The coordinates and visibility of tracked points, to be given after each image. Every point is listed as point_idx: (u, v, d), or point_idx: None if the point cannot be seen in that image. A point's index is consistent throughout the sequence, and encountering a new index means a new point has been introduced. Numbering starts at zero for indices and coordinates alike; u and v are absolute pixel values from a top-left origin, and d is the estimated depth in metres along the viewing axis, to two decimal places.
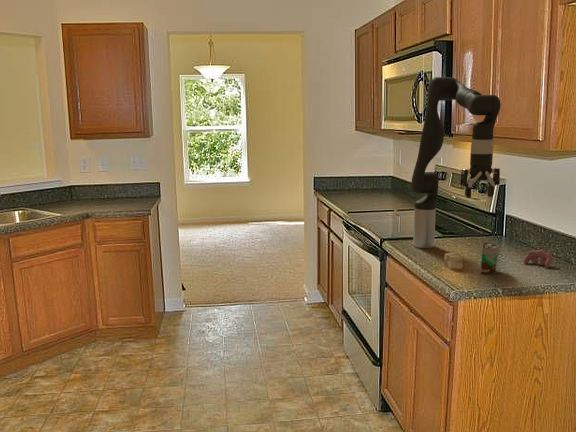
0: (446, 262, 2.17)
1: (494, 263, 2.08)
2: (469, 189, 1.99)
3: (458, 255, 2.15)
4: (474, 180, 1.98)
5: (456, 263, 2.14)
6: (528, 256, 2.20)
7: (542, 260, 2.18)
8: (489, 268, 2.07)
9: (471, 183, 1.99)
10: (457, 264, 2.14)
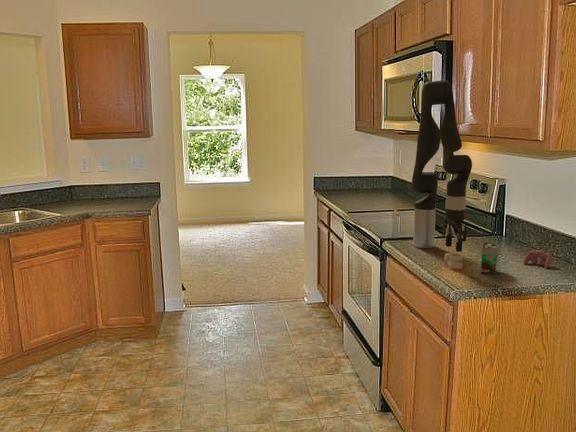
0: (446, 262, 2.17)
1: (494, 263, 2.08)
2: (461, 243, 2.10)
3: (458, 255, 2.15)
4: None
5: (456, 263, 2.14)
6: (528, 256, 2.20)
7: (542, 260, 2.18)
8: (489, 268, 2.07)
9: None
10: (457, 264, 2.14)
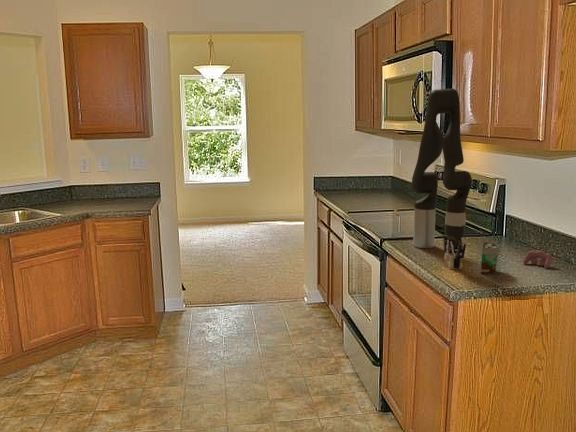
0: (446, 262, 2.17)
1: (494, 263, 2.08)
2: (459, 260, 2.13)
3: None
4: None
5: None
6: (527, 256, 2.20)
7: (541, 260, 2.17)
8: (489, 268, 2.07)
9: None
10: None
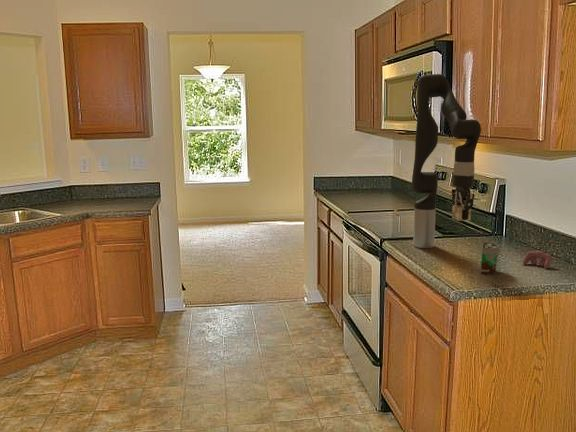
0: (454, 214, 2.12)
1: (494, 263, 2.08)
2: (468, 211, 2.09)
3: None
4: None
5: None
6: (527, 257, 2.19)
7: (541, 261, 2.17)
8: (489, 268, 2.07)
9: None
10: None
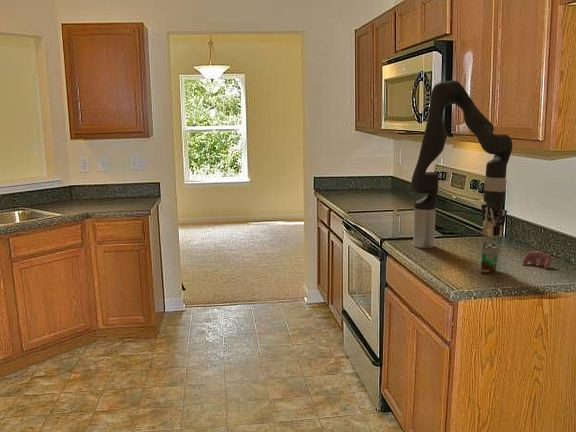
0: (485, 230, 2.08)
1: (494, 263, 2.08)
2: None
3: None
4: None
5: None
6: (527, 257, 2.19)
7: (541, 261, 2.17)
8: (489, 268, 2.07)
9: None
10: None
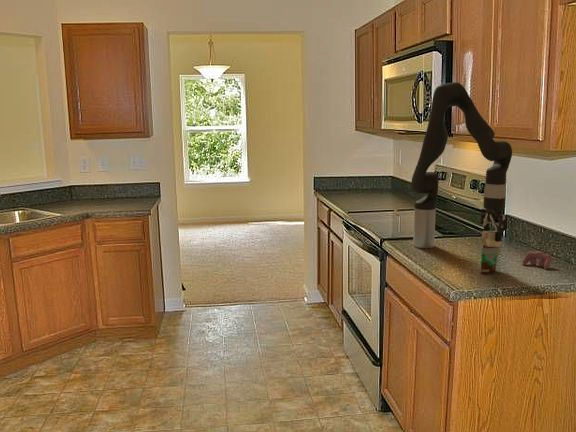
0: (484, 240, 2.09)
1: (494, 263, 2.08)
2: None
3: None
4: None
5: (494, 240, 2.06)
6: (527, 257, 2.19)
7: (541, 261, 2.16)
8: (489, 268, 2.07)
9: None
10: None
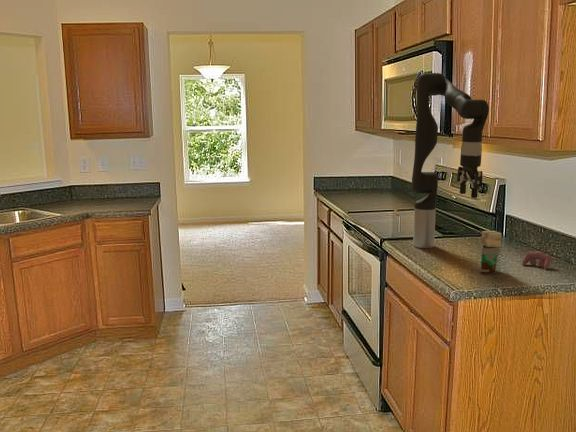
0: (484, 240, 2.09)
1: (494, 263, 2.08)
2: None
3: (496, 232, 2.07)
4: None
5: (494, 240, 2.06)
6: (526, 258, 2.18)
7: (541, 261, 2.16)
8: (489, 268, 2.07)
9: None
10: (496, 241, 2.07)
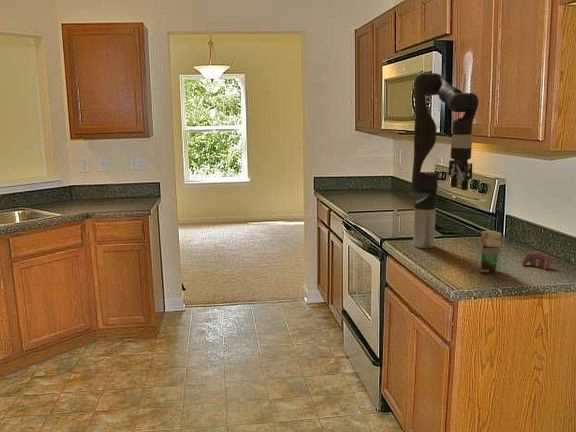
0: (484, 240, 2.09)
1: (494, 263, 2.08)
2: (467, 182, 2.11)
3: (496, 232, 2.08)
4: None
5: (494, 241, 2.06)
6: (526, 258, 2.18)
7: (540, 262, 2.16)
8: (489, 268, 2.07)
9: None
10: (496, 241, 2.07)
